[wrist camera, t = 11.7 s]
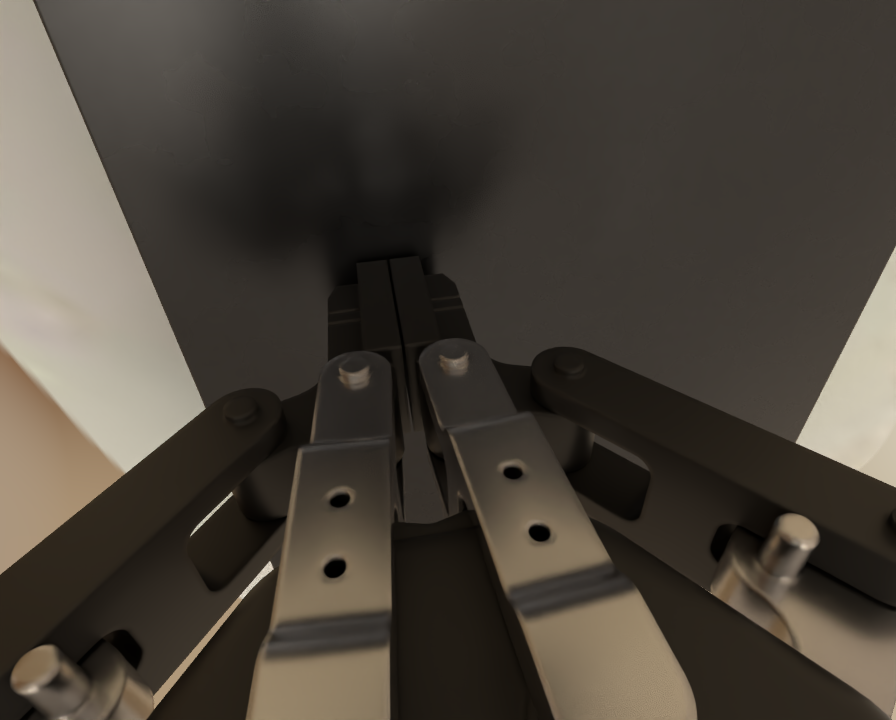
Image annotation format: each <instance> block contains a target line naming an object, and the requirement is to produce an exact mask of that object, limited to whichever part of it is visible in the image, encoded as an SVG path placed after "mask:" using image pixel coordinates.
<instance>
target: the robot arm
mask: <svg viewBox="0 0 896 720" xmlns="http://www.w3.org/2000/svg"><path fill="white" fill-rule="evenodd" d="M356 266H357V278H358V284H350V285H342V286H337V287H336V288H335V289H334V291H333V292H332V294H331V295H330V296H329V298H328V362H327V363H326V364H325V365H324V366H323V368H322V369H321V371H320V374H319V380H318V383H317V384H316V385H315V386H313V387H312V388H311V389H309V390H307V391H305V392H303V393H301V394H299V395H296V396H293V397H291V398H288V399H285V400H283V401H280V399H279V397H278V396H277V395H276V394H275V393H273V392H271V391H269V390H266V389H262V388H246V389H241V390H237V391H234V392H231V393H229V394H226V395H225V396H223V397H221V398H219V399H218V400H216V401H215V402H214V403H213V404H211V405H210V406H209V407H208V408H206V409H205V410H204V411H203V412H201V413H200V414H199V415H198V416H196V417H195V418H194V419H193V420H191V421H190V422H189V423H188V424H187V425H185V426H184V427H183V428H182V429H180V430H179V431H178V432H177V433H175V434H174V435H173V436H172V437H170V438H169V439H168V440H167V441H165V442H164V443H163V444H162V445H160V446H159V447H158V448H157V449H156V450H154V451H153V452H152V453H151V454H149V455H148V456H147V457H146V458H144V459H143V460H142V461H141V462H139V463H138V464H137V465H136V466H134V467H133V468H132V469H131V470H129V471H128V472H127V473H126V474H125V475H123V476H122V477H121V478H120V479H118V480H117V481H116V482H115V483H113V484H112V485H111V486H110V487H108V488H107V489H106V490H105V491H103V492H102V493H101V494H100V495H99V496H97V497H96V498H95V499H94V500H92V501H91V502H90V503H89V504H87V505H86V506H85V507H84V508H82V509H81V510H80V511H79V512H77V513H76V514H75V515H74V516H73V517H71V518H70V519H69V520H68V521H66V522H65V523H64V524H63V525H61V526H60V527H59V528H58V529H56V530H55V531H54V532H53V533H51V534H50V535H49V536H48V537H46V538H45V539H44V540H43V541H42V542H40V543H39V544H38V545H37V546H35V547H34V548H33V549H32V550H30V551H29V552H28V553H27V554H25V555H24V556H23V557H22V558H20V559H19V560H18V561H17V562H16V563H14V564H13V565H12V566H11V567H9V568H8V569H7V570H6V571H4V572H3V573H2V574H1V575H0V720H892V719H891V716H892V713H893V709H894V705H895V701H896V488H895V487H893V486H891V485H889V484H886V483H884V482H882V481H879V480H877V479H875V478H873V477H870V476H868V475H866V474H864V473H861V472H859V471H857V470H855V469H852V468H850V467H848V466H846V465H843V464H841V463H839V462H837V461H834V460H832V459H830V458H828V457H825V456H823V455H821V454H819V453H816V452H814V451H812V450H809V449H807V448H805V447H803V446H800V445H798V444H796V443H794V442H791V441H789V440H787V439H785V438H782V437H780V436H778V435H776V434H773V433H771V432H769V431H766V430H764V429H762V428H760V427H757V426H755V425H753V424H751V423H748V422H746V421H744V420H742V419H739V418H737V417H735V416H733V415H730V414H728V413H726V412H724V411H721V410H719V409H717V408H714V407H712V406H710V405H708V404H705V403H703V402H701V401H699V400H696V399H694V398H692V397H690V396H687V395H685V394H683V393H681V392H678V391H676V390H674V389H672V388H669V387H667V386H665V385H662V384H660V383H658V382H656V381H653V380H651V379H649V378H647V377H644V376H642V375H640V374H638V373H635V372H633V371H631V370H629V369H626V368H624V367H622V366H620V365H617V364H615V363H613V362H610V361H608V360H606V359H604V358H601V357H599V356H597V355H595V354H592V353H590V352H588V351H585V350H583V349H579V348H575V347H554V348H550V349H547V350H544V351H542V352H541V353H539V354H538V355H537V356H536V357H535V358H534V359H533V361H532V364H531V366H523V365H512V364H506V363H501V362H498V361H495V360H493V359H491V358H490V356H489V354H488V352H487V351H486V349H485V348H484V347H483V346H481V345H480V344H478V343H476V340H475V337H474V335H473V332H472V329H471V326H470V323H469V320H468V318H467V315H466V312H465V309H464V308H463V303H462V301H461V298H460V295H459V292H458V289H457V286H456V284H455V283H454V282H453V281H452V280H451V279H449V278H448V277H447V276H446V275H444V274H443V273H441V274H433V275H425V276H424V273H423V269H422V266H421V262H420V258H419V256H411V257H403V258H394V259H389V268H390V277H391V283H390V277H389V271H388V265H387V260H378V261H369V262H360V263H356ZM391 285H392V288H391ZM392 293H393V294H392ZM406 387H407V390H406ZM407 393H408V398H407ZM408 399H409V405H410V411H411V417H412V422H413V428H414V432H417V431H424V432H425V438H426V445H427V456H428V462H429V465H430V469H431V472H432V476H433V479H434V482H435V486H436V489H437V493H438V496H439V500H440V503H441V506H442V510H443V513H444V517H445V519H443V520H441V521H438V522H435V523H430V524H422V523H406V506H405V481H404V462H403V454H404V450H405V445H404V437H403V434H405V433H411V425H410V416H409V407H408ZM595 434H596V435H598V436H599V437H601V438H603V439H605V440H607V441H609V442H611V443H613V444H615V445H616V446H618V447H620V448H622V449H624V450H626V451H628V452H630V453H632V454H633V455H635V456H637V457H638V458H640V459H641V460H642V461H643V462H644V463H645V464H646V466H647V467H648V469H649V471H648V470H646V469H644V468H642V467H640V466H638V465H637V464H635V463H633V462H631V461H629V460H627V459H625V458H624V457H622V456H620V455H618V454H616V453H614V452H612V451H611V450H609V449H607V448H605V447H603V446H601V445H599V444H598V443H596V442H594V437H595ZM231 492H232V493H233V495H232V496H231V497H230V498H229V499H228V500H227V501H226V502H225V503H224V504H223V505H222V506H221V507H220V508H219V509H218V510H217V511H216V512H215V513H214V514H213V515H212V516H211V517H210V518H209V519H208V520H207V521H206V522H205V523H204V524H203V525H202V526H201V527H200V528H199V529H198V530H197V531H196V532H195V533H194V534H193V535H192V536H191V537H190V535H191V533H192V532H193V530H194V529H195V527H196V526H197V525H198V524H199V523H200V522H201V521H202V520H203V519H204V518H205V517H206V516H207V515H208V514H209V513H210V512H211V511H212V510H213V509H214V508H215V507H216V506H217V505H218V504H219V503H220V502H221V501H223V500H224V499H225V498H226V497H227V496H228V495H229V494H230V493H231ZM588 516H589V517H591V518H589V517H588ZM189 537H190V538H189ZM282 546H283V547H282ZM281 547H282V553H281V559H280V565H279V566H278V567H276V568H275V569H274V570H272V571H271V572H270V573H269V574H267V575H266V576H265V577H264V578H263V579H261V580H260V581H259V582H258V583H257V584H256V585H255V586H254V587H253V588H252V589H251V590H250V591H249V593H248V594H247V595H246V596H245V597H244V598H243V600H242V601H241V602H240V604H239V605H238V606H237V607H236V609H235V610H234V611H233V612H232V614H231V615H230V616H229V617H228V618H227V620H226V621H225V622H224V623H223V625H222V626H221V627H220V629H219V630H218V631H217V632H216V633H215V635H214V636H213V637H212V638H211V640H210V641H209V642H208V643H207V645H206V646H205V647H204V648H203V649H202V651H201V652H200V653H199V654H198V656H197V657H196V658H195V659H194V661H193V662H192V663H191V664H190V666H189V667H188V668H187V669H186V671H185V672H184V673H183V674H182V676H181V677H180V678H179V679H178V681H177V682H176V683H175V684H174V686H173V687H172V688H171V689H170V691H169V692H168V693H167V694H166V695H165V697H164V698H163V699H162V700H161V702H160V703H159V704H158V705H157V707H156V708H155V709H154V699H153V696H154V694H155V693H156V692H157V691H158V690H159V688H161V686H162V685H163V684H164V683H165V682H166V680H167V679H168V678H169V677H170V676H171V675H172V674H173V672H174V671H175V670H176V669H177V668H178V667H179V665H180V664H181V663H182V662H183V661H184V659H186V657H187V656H188V655H189V654H190V653H191V652H192V650H193V649H194V648H195V647H196V646H197V645H198V643H199V642H200V641H201V640H202V639H203V638H204V636H205V635H206V634H207V633H208V632H209V631H210V629H211V628H212V627H213V626H214V625H215V624H216V623H217V621H218V620H219V619H220V618H221V617H222V615H223V614H224V613H225V612H226V611H227V610H228V609H229V607H230V606H231V605H232V604H233V603H234V601H235V600H236V599H237V598H238V597H239V596H240V595H241V594H242V592H243V591H244V590H245V589H246V588H247V587H248V585H249V584H250V583H251V582H252V581H253V580H254V578H255V577H256V576H257V575H258V574H259V573H260V571H261V570H262V569H263V568H264V567H265V566H266V564H267V563H268V562H269V561H270V560H271V559H272V557H273V556H274V555H275V554H276V553H277V552H278V551H279V549H280V548H281ZM702 587H703V588H702ZM705 589H706V590H705ZM708 591H709V592H708ZM710 592H711V593H712V594H711V593H710Z"/></svg>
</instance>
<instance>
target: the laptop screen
mask: <svg viewBox="0 0 896 720" xmlns="http://www.w3.org/2000/svg"><path fill="white" fill-rule="evenodd" d="M33 1H34V4H35V6H36V9H37V11H38V13H39V16H40V18H41V20H42V23H43V25H44V27H45V30H46V32H47V35H48V37H49V39H50V42H51V44H52V46H53V49H54V51H55V53H56V56H57V58H58V61H59V63H60V65H61V68H62V70H63V72H64V75H65V77H66V79H67V82H68V84H69V86H70V89H71V91H72V94H73V96H74V98H75V101H76V103H77V105H78V108H79V110H80V112H81V115H82V117H83V120H84V122H85V124H86V127H87V129H88V131H89V134H90V136H91V138H92V141H93V143H94V146H95V148H96V150H97V153H98V155H99V157H100V160H101V162H102V164H103V167H104V169H105V172H106V174H107V176H108V179H109V181H110V183H111V186H112V188H113V190H114V193H115V195H116V198H117V200H118V202H119V205H120V207H121V209H122V212H123V214H124V216H125V219H126V221H127V224H128V226H129V228H130V231H131V233H132V235H133V238H134V240H135V242H136V245H137V247H138V250H139V252H140V254H141V257H142V259H143V261H144V264H145V266H146V268H147V271H148V273H149V276H150V278H151V280H152V283H153V285H154V287H155V290H156V292H157V294H158V297H159V299H160V301H161V304H162V306H163V309H164V311H165V313H166V316H167V318H168V320H169V323H170V325H171V327H172V330H173V332H174V335H175V337H176V339H177V342H178V344H179V346H180V349H181V351H182V353H183V356H184V358H185V361H186V363H187V365H188V368H189V370H190V372H191V375H192V377H193V379H194V382H195V384H196V387H197V389H198V391H199V394H200V396H201V398H202V401H203V403H204V405H205V408H208V407H209V406H210V405H211V404H213V403H214V402H215V401H216V400H218V399H219V398H221V397H223V396H225V395H226V394H229V393H231V392H234V391H237V390H241V389H246V388H262V389H266V390H269V391H271V392H273V393H275V394H276V395H277V396H278V397H279V399H280V401H283V400H285V399H288V398H291V397H293V396H296V395H299V394H301V393H303V392H305V391H307V390H309V389H311V388H312V387H313V386H315V385H316V384H317V383H318V380H319V374H320V371H321V369H322V368H323V366H324V365H325V364H326V363H327V362H328V298H329V296H330V295H331V294H332V292H333V291H334V289H335V288H336V287H337V286H342V285H350V284H358V278H357V266H356V263H360V262H369V261H378V260H387V265H388V271H389V277H390V268H389V259H394V258H403V257H411V256H419V258H420V262H421V266H422V269H423V273H424V276H425V275H433V274H441V273H443V274H444V275H446V276H447V277H448V278H449V279H451V280H452V281H453V282H454V283H455V284H456V286H457V289H458V292H459V295H460V298H461V301H462V303H463V308H464V309H465V312H466V315H467V318H468V320H469V323H470V326H471V329H472V332H473V335H474V337H475V340H476V343H478V344H480V345H481V346H483V347H484V348H485V349H486V351H487V352H488V354H489V356H490V358H491V359H493V360H495V361H498V362H501V363H506V364H512V365H523V366H531V364H532V361H533V359H534V358H535V357H536V356H537V355H538V354H539V353H541V352H542V351H544V350H547V349H550V348H554V347H575V348H579V349H583V350H585V351H588V352H590V353H592V354H595V355H597V356H599V357H601V358H604V359H606V360H608V361H610V362H613V363H615V364H617V365H620V366H622V367H624V368H626V369H629V370H631V371H633V372H635V373H638V374H640V375H642V376H644V377H647V378H649V379H651V380H653V381H656V382H658V383H660V384H662V385H665V386H667V387H669V388H672V389H674V390H676V391H678V392H681V393H683V394H685V395H687V396H690V397H692V398H694V399H696V400H699V401H701V402H703V403H705V404H708V405H710V406H712V407H714V408H717V409H719V410H721V411H724V412H726V413H728V414H730V415H733V416H735V417H737V418H739V419H742V420H744V421H746V422H748V423H751V424H753V425H755V426H757V427H760V428H762V429H764V430H766V431H769V432H771V433H773V434H776V435H778V436H780V437H782V438H785V439H787V440H789V441H791V442H794V443H796V441H797V439H798V437H799V435H800V433H801V431H802V429H803V427H804V425H805V423H806V421H807V419H808V417H809V415H810V413H811V411H812V409H813V407H814V406H815V404H816V402H817V400H818V398H819V396H820V394H821V392H822V390H823V388H824V386H825V384H826V382H827V380H828V378H829V376H830V374H831V372H832V370H833V368H834V366H835V364H836V362H837V360H838V358H839V356H840V354H841V352H842V351H843V349H844V347H845V345H846V343H847V341H848V339H849V337H850V335H851V333H852V331H853V329H854V327H855V325H856V323H857V321H858V319H859V317H860V315H861V313H862V311H863V309H864V307H865V305H866V303H867V301H868V299H869V297H870V296H871V294H872V292H873V290H874V288H875V286H876V284H877V282H878V280H879V278H880V276H881V274H882V272H883V270H884V268H885V266H886V264H887V262H888V260H889V258H890V256H891V254H892V252H893V250H894V248H895V246H896V0H33ZM390 283H391V277H390ZM391 288H392V285H391ZM392 294H393V293H392ZM406 390H407V387H406ZM407 398H408V393H407ZM408 407H409V416H410V425H411V433H405V434H403V437H404V445H405V450H404V454H403V462H404V481H405V506H406V523H422V524H430V523H435V522H438V521H441V520H443V519H445V517H444V513H443V510H442V506H441V503H440V500H439V496H438V493H437V489H436V486H435V482H434V479H433V476H432V472H431V469H430V465H429V462H428V456H427V445H426V438H425V432H424V431H417V432H414V428H413V422H412V417H411V411H410V405H409V399H408ZM594 442H596V443H598V444H599V445H601V446H603V447H605V448H607V449H609V450H611V451H612V452H614V453H616V454H618V455H620V456H622V457H624V458H625V459H627V460H629V461H631V462H633V463H635V464H637V465H638V466H640V467H642V468H644V469H646V470H648V471H649V469H648V467H647V466H646V464H645V463H644V462H643V461H642V460H641V459H640V458H638V457H637V456H635V455H633V454H632V453H630V452H628V451H626V450H624V449H622V448H620V447H618V446H616V445H615V444H613V443H611V442H609V441H607V440H605V439H603V438H601V437H599V436H598V435H596V434H595V437H594ZM588 517H589V516H588ZM589 518H591V517H589ZM282 547H283V546H282ZM282 547H281V548H280V549H279V551H278V552H277V553H276V554H275V555H274V556H273V557H272V559H271V560H270V561H271V564H272V566H273V568H274V569H275V568H276V567H278V566H279V565H280V559H281V553H282Z"/></svg>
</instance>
